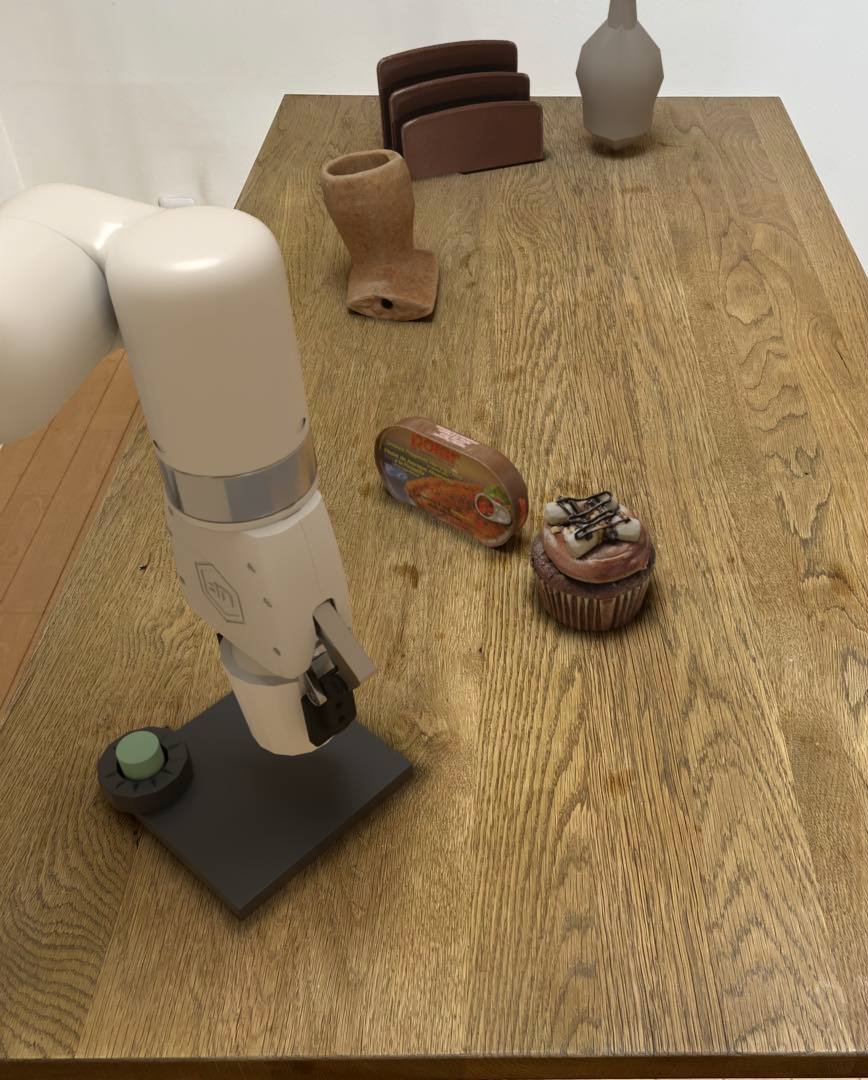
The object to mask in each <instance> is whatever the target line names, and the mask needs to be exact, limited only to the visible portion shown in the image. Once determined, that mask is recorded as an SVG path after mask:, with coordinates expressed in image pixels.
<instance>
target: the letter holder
mask: <svg viewBox="0 0 868 1080" xmlns="http://www.w3.org/2000/svg"><path fill="white" fill-rule="evenodd" d="M518 50H519V49H518V46H517V44H516V43H515V41H512V40H507V39H469V40H459V41H458V40H457V41H451V42H444V43H437V44H432V45H428V46H427V45H426V46H422V47H416V48H412V49H407V50H403V51H400V52H397V53H393V54H390V55H387V56H384V57H382V58H381V59H379V60H378V62H377V64H376V81H377V92H378V99H379V110H380V125H381V135H382V146H383V147H382V148H383V149H385V150H392V151H395V152H397V153H398V154H400V155H401V157H402V158H403V159H404V161H405V163H406V165H407V167H408V170H409V174H410V178H411V181H412V180H417V179H418V180H419V179H424V178H429V177H435V176H437V177H438V176H442V175H443V176H444V175H448V174H454V173H458V174H460V175H462V174H468V173H474V172H480V171H485V170H490V169H496V168H502V167H508V166H514V165H520V164H521V165H522V164H526V163H527V164H528V163H534V162H539V161H543V160H544V157H545V151H544V108H543V106H542V104H541V103H539V102H537V101H534V100H531V79H530V77H529V75H528V74H527V73H524V72H518V70H519V67H518V66H519V65H518V64H519V53H518V52H519V51H518Z"/></svg>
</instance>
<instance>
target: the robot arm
mask: <svg viewBox="0 0 868 1080" xmlns="http://www.w3.org/2000/svg"><path fill="white" fill-rule="evenodd" d="M282 254H283V253H282V251H281V247H280V245H279V243H278V240H277V239H276V237H275V235H274V234H273V232H272V231H271V229H270V228H269V227H268V226H267V225H266V224H265V223H264V222H262V220H260V219H259V218H257V217H255V216H254V215H251V214H249V213H247V212H245V211H242V210H240V209H236V208H232V207H227V206H221V205H220V206H219V205H190V206H180V207H174V208H167V207H163V206H159V205H153V204H149V203H147V202H142V201H139V200H134V199H132V198H128V197H123V196H120V195H117V194H113V193H110V192H106V191H103V190H100V189H96V188H92V187H88V186H83V185H79V184H73V183H64V182H63V183H62V182H61V183H60V182H49V183H40V184H36V185H31V186H28V187H26V188H24V189H22V190H20V191H18V192H16V193H15V194H13V195H12V196H10V197H9V198H7V199H5V200H4V201H3V202H2V203H1V204H0V446H2V445H8V444H9V445H10V444H12V443H16V442H19V441H21V440H24V439H26V438H29V437H30V436H33V435H34V434H36V433H37V432H38V431H40V430H41V429H43V428H44V427H45V426H46V425H48V424H49V423H50V422H51V421H52V420H53V419H55V417H56V416H57V415H58V414H59V413H60V411H61V410H62V409H63V408H64V407H65V406H66V405H67V403H68V402H69V401H70V400H71V399H72V397H73V396H74V395H75V393H76V392H77V391H78V390H79V389H80V388H81V386H82V385H83V384H84V383H85V382H86V380H87V379H88V378H89V376H90V375H91V374H92V373H93V372H94V371H95V369H96V368H97V366H98V365H99V364H100V363H101V361H103V360H104V359H105V358H107V357H109V356H110V355H112V354H114V353H116V352H118V351H119V350H123V349H125V353H126V357H127V360H128V364H129V367H130V371H131V374H132V379H133V381H134V385H135V389H136V392H137V395H138V400H139V403H140V406H141V410H142V413H143V417H144V421H145V424H146V427H147V431H148V434H149V438H150V442H151V445H152V447H153V451H154V456H155V458H156V462H157V465H158V469H159V472H160V477H161V480H162V494H163V495H162V496H163V497H162V498H163V506H164V514H165V521H166V526H167V527H166V528H167V532H168V538H169V542H170V547H171V551H172V556H173V561H174V565H175V568H176V572H177V573H176V574H177V577H178V580H179V585H180V588H181V591H182V592H181V593H182V595H183V598H184V601H185V602H186V604H187V605H188V607H189V608H190V609H191V610H192V612H194V614H195V615H197V617H199V619H201V620H202V621H203V622H205V623H206V624H207V625H208V626H210V627H211V628H212V629H213V630H215V632H217V633H216V634H215V635H216V639H217V643H218V645H219V646H218V647H220V643H221V641H222V638H223V636H224V637H225V638H226V639H228V640H229V641H230V642H231V643H233V644H234V645H235V646H237V647H238V648H239V649H241V650H242V651H243V652H244V653H246V654H247V655H248V656H250V657H251V658H252V659H254V660H255V661H256V662H258V663H259V664H260V665H262V666H263V667H265V668H266V669H267V670H269V671H270V672H272V673H273V674H275V675H278V676H280V677H283V678H288V679H295V678H297V677H298V679H299V681H300V683H301V685H302V687H303V689H304V691H305V693H306V694H305V695H304V696H303V697H302V698H301V699H300V700H301V705H302V709H303V714H304V718H305V723H306V728H307V732H308V737H309V741H310V742H311V743H312V744H313V745H314V746H316V747H320V746H321V745H322V744H324V743H325V742H326V741H328V740H329V739H330V738H331V737H333V736H334V735H337V734H339V733H341V732H342V731H343V730H345V729H346V728H347V727H348V726H349V725H350V723H351V722H352V721H353V720H356V717H357V716H358V715H357V714H358V713H357V705H356V701H355V694H354V690H356V689H358V688H360V687H361V686H362V685H364V684H365V683H366V682H367V681H369V680H370V679H372V678H373V677H374V676H375V675H377V673H378V669H377V667H376V665H375V664H374V662H373V660H372V659H371V658H370V657H369V655H368V654H367V652H366V651H365V650H364V648H363V647H362V645H361V644H360V642H359V641H358V639H357V638H356V637H355V636H354V634H353V627H354V626H353V625H354V623H353V622H354V621H353V620H354V619H353V610H352V609H353V608H352V602H351V595H350V591H349V590H350V589H349V586H348V585H349V584H348V581H347V576H346V573H345V568H344V564H343V560H342V556H341V551H340V548H339V545H338V541H337V538H336V534H335V530H334V528H333V525H332V521H331V518H330V514H329V512H328V510H327V508H326V504H325V502H324V499H323V495H322V493H321V492H320V491H319V490H318V489H317V488H318V485H319V480H320V474H319V467H318V459H317V455H316V447H315V443H314V436H313V430H312V424H311V420H310V419H311V418H310V413H309V406H308V400H307V395H306V388H305V383H304V382H305V381H304V376H303V371H302V365H301V358H300V353H299V347H298V341H297V335H296V329H295V322H294V316H293V311H292V304H291V298H290V293H289V286H288V280H287V274H286V269H285V264H284V259H283V255H282ZM325 652H327V654H328V656H329V658H330V660H331V662H332V664H333V666H334V668H332V669H331V670H330V671H328V672H327V673H325V674H324V675H323V676H321V677H320V678H319V679H318V678H317V676H316V674H315V672H314V670H313V668H312V666H311V663H312V662H313V661H314V660H316V659H317V658H318V657H320V656H321V655H323V654H324V653H325Z"/></svg>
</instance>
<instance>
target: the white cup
mask: <svg viewBox="0 0 868 1080" xmlns="http://www.w3.org/2000/svg"><path fill="white" fill-rule="evenodd" d="M219 653H220V655H219V656H220V662H221V665H222V667H223V669H224V672H225V674H226V676H227V679H228V681H229V684H230V686H231V688H232V691H234V693H235V695H236V698H237V700H238V703H239V705H240V707H241V710H242V712H243V714H244V717H245V719H246V721H247V724H248V726H249V728H250V731H251V733H252V735H253V737H254V738H255V739H256V741H257V742H258V743H259V745H260V746H261V747H263V748H265V749H267V750H269V751H270V752H272V753H274V754H282V755H291V756H293V755H298V754H303V753H308V752H312V751H314V750H315V749H317V748H319V747H316V746H314V745H313V744H312V743H311V742H310V741H309V737H308V732H307V728H306V723H305V718H304V714H303V709H302V705H301V700H300V699H301V698H302V697H303V696H304V695H305V694H306V693H305V691H304V689H303V687H302V685H301V683H300V681H299V679H298V677H297V678H295V679H288V678H283V677H280V676H278V675H275V674H273V673H272V672H270V671H269V670H267V669H266V668H265V667H263V666H262V665H260V664H259V663H258V662H256V661H255V660H254V659H252V658H251V657H250V656H248V655H247V654H246V653H244V652H243V651H242V650H241V649H239V648H238V647H237V646H235V645H234V644H233V643H231V642H230V641H229V640H228V639H226V638H225V637H224V636H223V638H222V641H221V643H220V646H219ZM311 666H312V668H313V670H314V672H315V674H316V676H317V678H318V679H319V678H320V677H321V676H323V675H324V674H325V673H327V672H328V671H330V670H331V669H332V668H334V666H333V664H332V662H331V660H330V658H329V656H328V654H327V652H325V653H324V654H323V655H321V656H320V657H318V658H317V659H316V660H314V661H313V662H312V663H311ZM331 738H332V737H331ZM331 738H330V739H331ZM330 739H329V740H328V741H326V742H325V743H324V744H322V745H321V746H323V745H325V744H326V743H328V742H329V741H330ZM321 746H320V747H321Z"/></svg>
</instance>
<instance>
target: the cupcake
mask: <svg viewBox="0 0 868 1080" xmlns="http://www.w3.org/2000/svg"><path fill="white" fill-rule="evenodd" d="M555 499H556V500H555V501H550V502H547V503H546V504H545V506H544V520H543V522H542V524H541V526H540V530H539V531H538V533H537V535H535V536H533V539H534V540H533V541H532V542H530V547H529V548H528V549H529V552H530V554H529V555H528V560H529V561H528V562H529V565H530V567H531V569H532V573H533V576H534V579H535V581H536V583H537V584H536V585H537V588H538V592H539V598H540V602H541V603H540V604H541V605H542V606H543V607H544V609H545V611H546V612H547V613H548V614H549V615H551V616H553V619H555V620H558V622H559V623H561V624H563V626H565V627H570V628H571V629H576V630H578V631H582V630H584V631H585V632H589V631H591V632H594V633H595V632H608V631H610V629H617V628H619V627H623V626H625V624H628V623H629V622H630V621H631V620H633V618H634V617H635V616H636V615H638V613H639V610H640V609H641V607H642V604H643V601H644V598H645V595H646V592H647V590H648V588H649V585H650V582H651V580H652V577H653V574H654V571H655V568H656V562H657V558H658V557H657V556H658V553H657V551H656V548H655V545H654V543H653V541H652V539H651V534H650V532H649V529H648V528H647V527H646V525H645V524H644V523H643V521H641V520H640V518H639V517H638V516H637V515H635V513H634V512H632V511H631V510H630V509H629V508H628V507H627V506H625V505H623V504H621V503H619V502H618V501H617V500H616V498H615V497H614V496H613V494H612V493H611V492H610V491H608V490H604V491H601V492H597V493H591V495H589V496H587V497H586V496H585V497H582V498H575V497H570V496H565V497H564V496H562V495H560V494H558V495H557V496H556V498H555Z"/></svg>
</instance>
